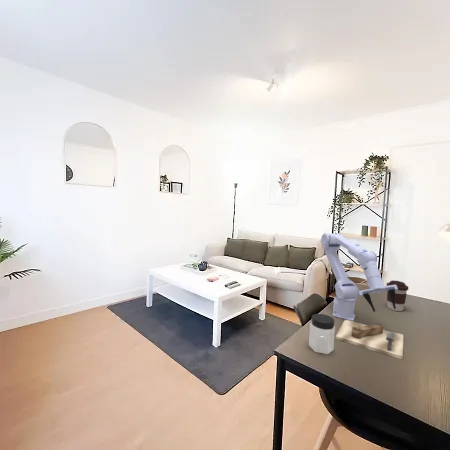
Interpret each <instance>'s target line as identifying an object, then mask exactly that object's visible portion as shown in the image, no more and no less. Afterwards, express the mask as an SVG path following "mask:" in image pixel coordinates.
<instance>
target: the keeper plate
mask: <svg viewBox="0 0 450 450" xmlns="http://www.w3.org/2000/svg"><path fill="white" fill-rule="evenodd" d="M362 326H368V325H367V324H363V323H360V322H357V321H354V320H353V321H351V320H347V319H344V321H343V322H342V325H341V326H340V327H339V330H338V331H337V332H336V335H335V340H338V341H341V342H345V343H348V344H349V345H350V344H351V345H354V346H356V347H357V346H358V347H360V348H363V349H367V350H369V351H374V352H376V353H379V354H383V355H386V356H390V357H393V358H395V359H399V360H403V356H404V355H403V353H404V352H403V351H404V334H402V333H398V332H393V331H390V330H386V329H383V333H381V334H375V335H370V336H365V337H361V338H355V337H353V336H352V327H354V329H356V330H360V329H361V327H362Z"/></svg>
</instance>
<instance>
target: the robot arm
mask: <svg viewBox="0 0 450 450" xmlns="http://www.w3.org/2000/svg"><path fill="white" fill-rule="evenodd" d="M320 242H321V245H322V247H323V250H324V253H325V255H326V258H327V260H328V262H329V263H328V264H329V265H330V267H331V270H332V272H333V274H334V278H335V279H336V283H335V285H334V289H335V295H336V296H335V297H334V299H333V305H332V306H333V307H332V315H331V316H333V317H336V318H339V319H342V320H343V319H344V320H349V321H353V322H354V320H355V318H356V314H355V304H356V301H357V299H358V298H359V296H361V297H364V299H365V300H366V301H367V303H368V304H369V306H370V308H371V309H372V311H373V312H375V313H376V308H375V306H374V304H373V300H372V297H371V295H372V294H377V293H384V292H387V291H389V295H390V297H391V300H392V304H393V307H394V309H396V307H395V290H398V288H397V285H390V286H387V285H386V286H385V284H384V282H383V279H382V276H381V273H380V271H379V268H378V265H377V262H378V255H377V254H376V253H375V252H374V251H372V250H370V251H368V249H366V248H364V247H362V246H360V243H351V242H350V241H349V240H348V239H346V238H345V236H344V234H342V233H326V232H324V233H323V234H322V235H321V239H320ZM341 247H343V249H346V250H347V252H348V253H349V255H350V256H352V257H354V258H355V259H356V260H357V261H356V262H357V263H358V264H359V266H360V267H361V269H363V272H364V276H365V278H366V281H367V284H368V288H367V289H362V290H360V289H359V287H358V286H357V285H356V284H355V281H352V280H351V279H349V278H348V275H347V273H346V270H345V268H344V266H343V264H342V262H341V259H340V257H339V255H338V252H337V251H338V250H340V248H341Z"/></svg>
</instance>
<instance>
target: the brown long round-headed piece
mask: <svg viewBox="0 0 450 450" xmlns="http://www.w3.org/2000/svg"><path fill="white" fill-rule="evenodd" d="M383 330H384V325H382V324H380V323H375V324H369V325H368V326H362V327H361V329H360V330H356V329H354V327H352V336H353V337H355V338H361V337H365V336H370V335H375V334H381V333H383Z"/></svg>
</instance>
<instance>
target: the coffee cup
mask: <svg viewBox="0 0 450 450" xmlns="http://www.w3.org/2000/svg"><path fill="white" fill-rule="evenodd" d="M390 285H397V288H398V290H395V307H396V309H394V307H393V304H392V300H391V297H390V295H389V291H386V299H387V308H388V309H389V310H391V311H395V312H403V311H404V307H405V303H406V298H407V295H408V294H407V291H409V286H408V285H406V283H405V282H403V281H400V280H390V281H389V282H387V283H386V286H390Z"/></svg>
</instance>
